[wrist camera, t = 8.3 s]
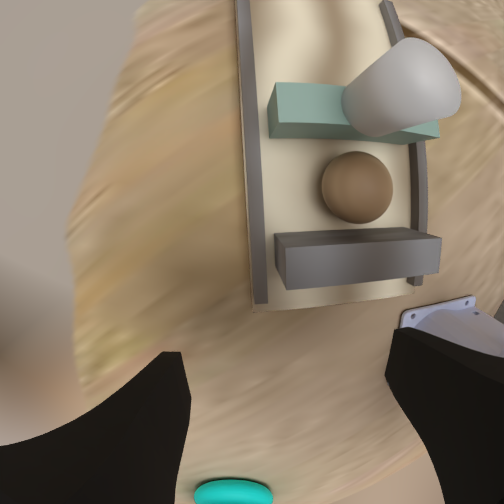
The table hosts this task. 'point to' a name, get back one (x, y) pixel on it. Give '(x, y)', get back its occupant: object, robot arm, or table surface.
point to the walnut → (357, 187)
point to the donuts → (233, 493)
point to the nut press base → (323, 163)
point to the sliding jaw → (372, 100)
